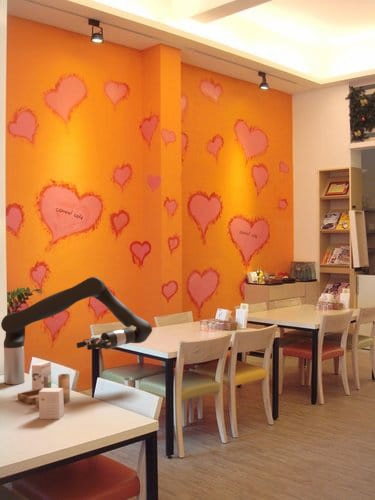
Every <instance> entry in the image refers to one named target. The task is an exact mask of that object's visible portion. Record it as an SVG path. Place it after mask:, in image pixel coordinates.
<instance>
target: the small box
mask: <svg viewBox="0 0 375 500" xmlns="http://www.w3.org/2000/svg"><path fill="white" fill-rule="evenodd" d="M64 404H65V403H64V400H63V388H58V387H49V388H43V389H42V390H40V391H39V407H38V416H39V420H60V419H61V418H62V417H63V416H64V415H65V407H64Z"/></svg>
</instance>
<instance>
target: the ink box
mask: <svg viewBox="0 0 375 500" xmlns="http://www.w3.org/2000/svg"><path fill="white" fill-rule="evenodd" d="M51 363H52V362H51V361H40V362H37V363H34V364H32V365H31V381H32V382H31V391H33V390H37V389H43V388H44V377H45V376H48V388H52V364H51Z"/></svg>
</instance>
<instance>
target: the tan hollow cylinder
mask: <svg viewBox="0 0 375 500" xmlns="http://www.w3.org/2000/svg"><path fill="white" fill-rule="evenodd" d="M57 378H58V379H57V382H58V384H57V385H58V386H57V388H63V400H64V404H65V403H69V402H70V401H71V392H70V391H71V390H70V389H71V387H70V374H69V373H61V374H58V375H57Z"/></svg>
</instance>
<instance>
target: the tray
mask: <svg viewBox="0 0 375 500" xmlns="http://www.w3.org/2000/svg"><path fill="white" fill-rule="evenodd" d="M40 390H42V389H37V390H33V391H32V390H29V391H23V392H19V393H17V400H18V401H21V402H23V403H26V404H29V405H32V406H33V405H36V396H39V391H40Z"/></svg>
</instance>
